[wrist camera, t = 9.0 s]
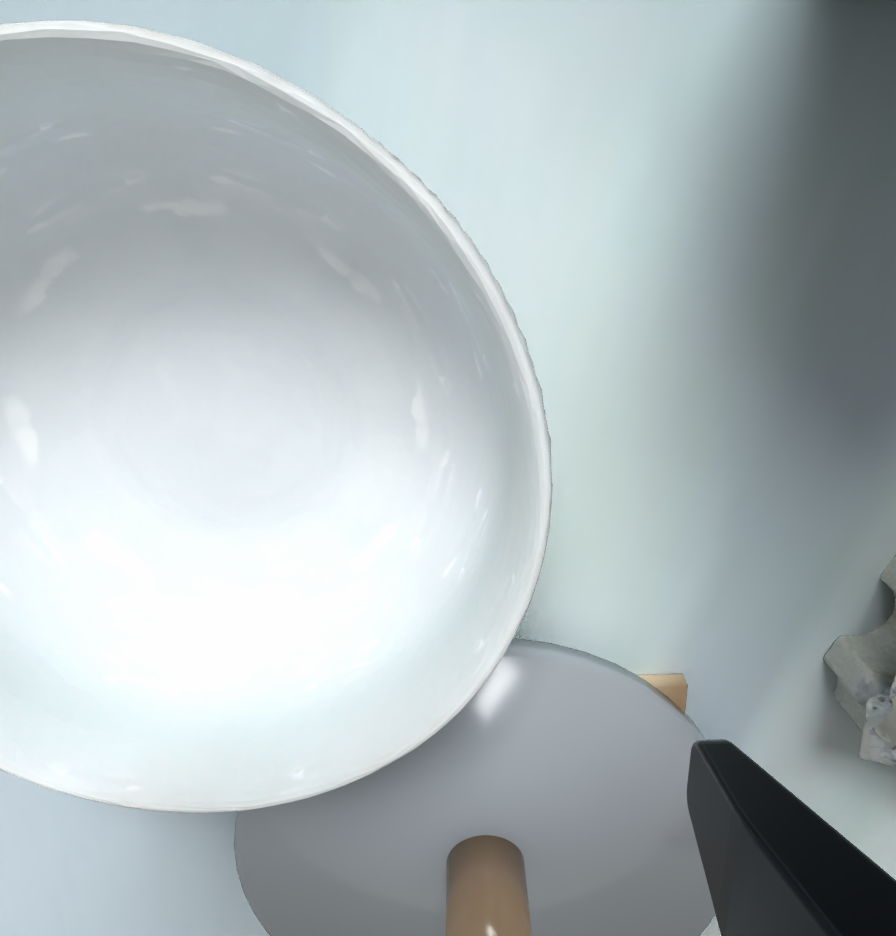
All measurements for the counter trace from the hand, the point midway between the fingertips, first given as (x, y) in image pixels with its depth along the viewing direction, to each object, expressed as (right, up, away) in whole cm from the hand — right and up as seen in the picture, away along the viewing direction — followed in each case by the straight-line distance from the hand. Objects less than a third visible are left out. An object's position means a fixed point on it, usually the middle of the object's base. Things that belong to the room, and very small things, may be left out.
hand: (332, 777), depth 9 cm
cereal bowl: (-5, +6, +12) cm, 14 cm away
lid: (+3, -10, +17) cm, 20 cm away
